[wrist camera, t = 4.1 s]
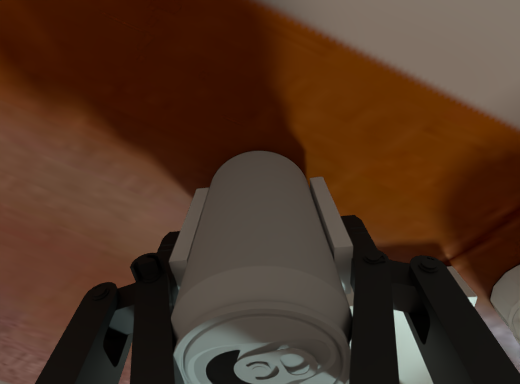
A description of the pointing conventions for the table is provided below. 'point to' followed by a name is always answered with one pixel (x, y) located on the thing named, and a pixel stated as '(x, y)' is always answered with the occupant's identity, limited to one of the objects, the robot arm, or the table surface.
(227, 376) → the beverage can
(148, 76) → the table surface
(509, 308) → the white cup
